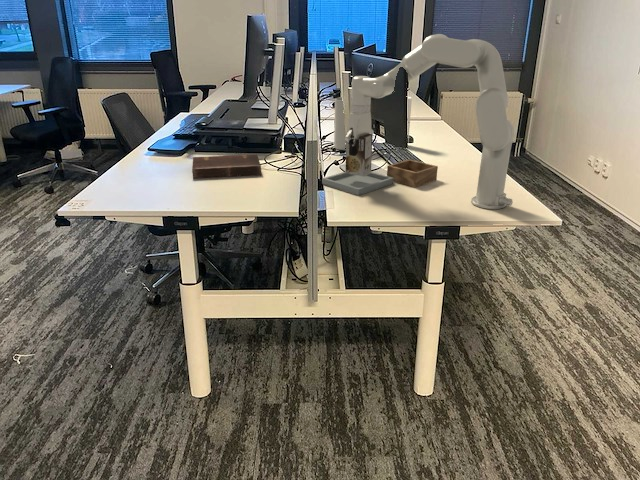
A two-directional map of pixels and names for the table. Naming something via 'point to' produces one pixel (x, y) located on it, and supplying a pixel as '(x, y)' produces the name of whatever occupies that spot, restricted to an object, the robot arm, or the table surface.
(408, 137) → the cylindrical container
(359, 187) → the slate tray
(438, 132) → the table surface
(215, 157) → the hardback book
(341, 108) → the cylinder vase
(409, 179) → the walnut sleeve
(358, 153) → the coffee box
